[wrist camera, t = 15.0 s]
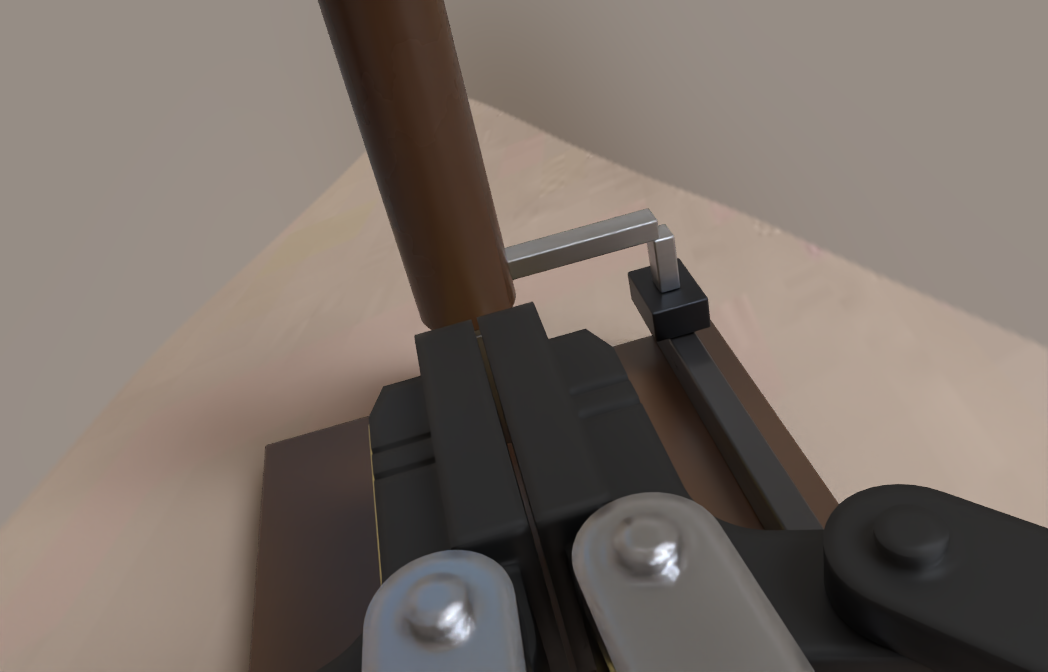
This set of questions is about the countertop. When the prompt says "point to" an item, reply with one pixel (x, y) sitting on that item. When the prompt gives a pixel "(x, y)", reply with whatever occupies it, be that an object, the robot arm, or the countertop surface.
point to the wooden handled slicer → (470, 182)
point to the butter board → (350, 510)
